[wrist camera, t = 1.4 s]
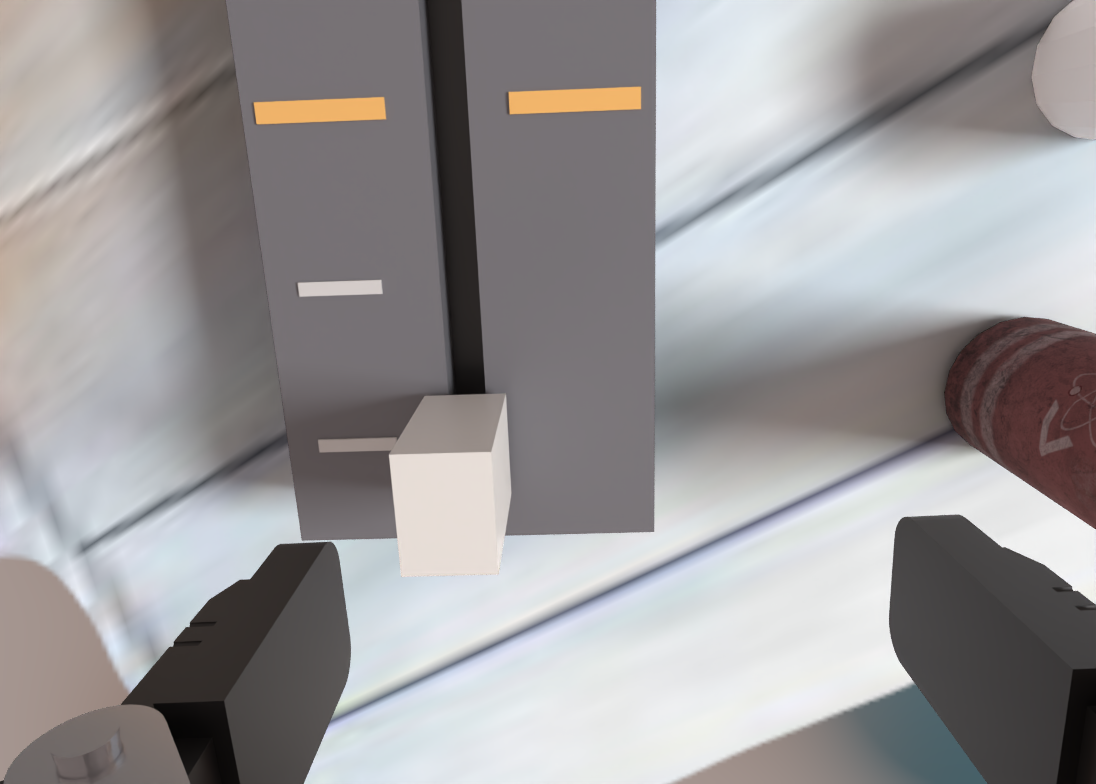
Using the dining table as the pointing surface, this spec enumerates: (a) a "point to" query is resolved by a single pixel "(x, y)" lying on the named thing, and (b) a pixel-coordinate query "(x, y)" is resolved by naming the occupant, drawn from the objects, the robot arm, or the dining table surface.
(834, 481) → the dining table surface
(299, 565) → the robot arm
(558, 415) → the slider control panel
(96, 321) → the dining table surface
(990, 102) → the dining table surface
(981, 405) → the can
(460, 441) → the fader knob
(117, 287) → the dining table surface
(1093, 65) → the white cylinder
